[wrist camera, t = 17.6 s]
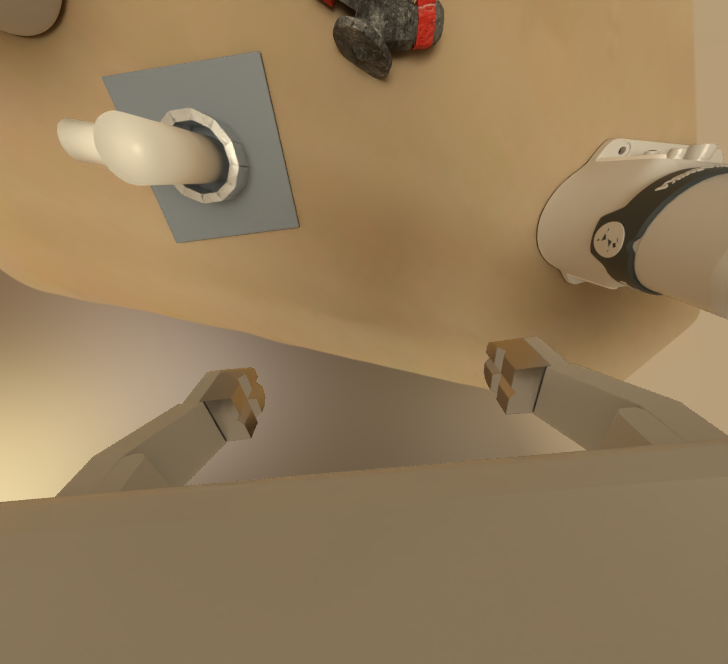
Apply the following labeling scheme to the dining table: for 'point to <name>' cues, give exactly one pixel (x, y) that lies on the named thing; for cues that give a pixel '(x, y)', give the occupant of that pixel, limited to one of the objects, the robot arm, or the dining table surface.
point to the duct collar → (232, 146)
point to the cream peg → (145, 150)
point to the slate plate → (245, 118)
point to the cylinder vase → (28, 16)
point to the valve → (386, 30)
